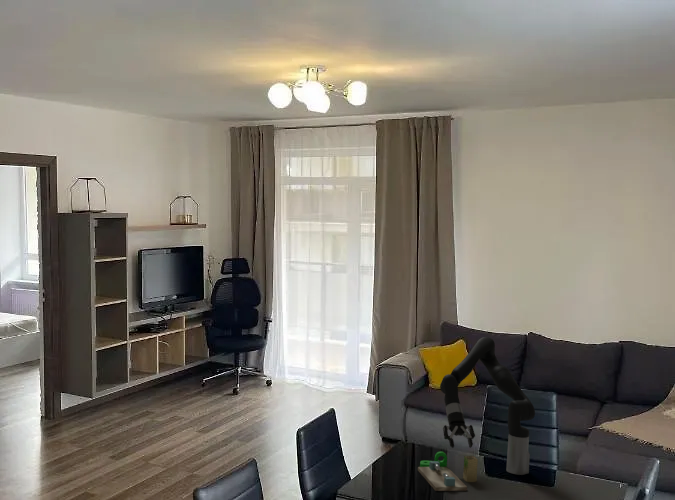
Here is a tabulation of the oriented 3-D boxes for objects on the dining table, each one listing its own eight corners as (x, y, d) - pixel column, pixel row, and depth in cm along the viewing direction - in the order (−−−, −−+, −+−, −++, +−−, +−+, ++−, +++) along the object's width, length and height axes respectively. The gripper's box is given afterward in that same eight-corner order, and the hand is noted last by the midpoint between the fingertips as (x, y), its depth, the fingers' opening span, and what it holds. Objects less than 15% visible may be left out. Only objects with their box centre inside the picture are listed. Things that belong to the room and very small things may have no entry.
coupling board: (446, 469, 311) (447, 460, 311) (466, 490, 287) (467, 479, 287) (417, 470, 309) (418, 460, 309) (435, 490, 284) (436, 480, 284)
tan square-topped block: (472, 478, 302) (473, 456, 302) (476, 481, 298) (477, 459, 298) (463, 478, 301) (464, 456, 301) (466, 482, 297) (468, 459, 297)
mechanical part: (445, 466, 317) (446, 449, 317) (446, 470, 311) (447, 453, 311) (419, 464, 318) (420, 447, 318) (420, 468, 312) (421, 451, 312)
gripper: (467, 418, 324) (474, 450, 313) (438, 418, 322) (444, 450, 311) (471, 411, 318) (479, 443, 308) (442, 411, 316) (449, 443, 305)
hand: (461, 447), depth 309 cm, fingers open, 8 cm apart
